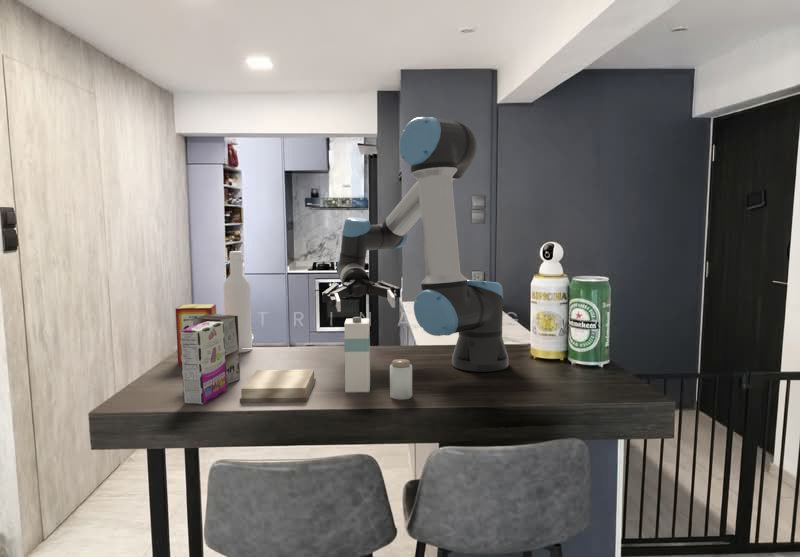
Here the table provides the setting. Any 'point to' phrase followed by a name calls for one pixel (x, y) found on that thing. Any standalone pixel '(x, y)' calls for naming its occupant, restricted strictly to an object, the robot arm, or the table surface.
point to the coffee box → (227, 342)
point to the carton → (357, 354)
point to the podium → (278, 386)
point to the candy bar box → (203, 362)
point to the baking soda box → (190, 319)
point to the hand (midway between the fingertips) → (366, 304)
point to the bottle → (239, 300)
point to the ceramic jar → (401, 379)
